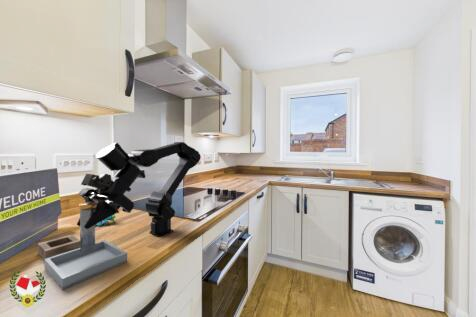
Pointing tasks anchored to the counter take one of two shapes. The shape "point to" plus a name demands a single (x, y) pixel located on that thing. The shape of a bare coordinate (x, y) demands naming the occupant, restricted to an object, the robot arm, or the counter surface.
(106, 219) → the gear
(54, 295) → the counter surface
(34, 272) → the counter surface
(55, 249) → the collar block
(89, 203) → the steel pin
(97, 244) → the tray
